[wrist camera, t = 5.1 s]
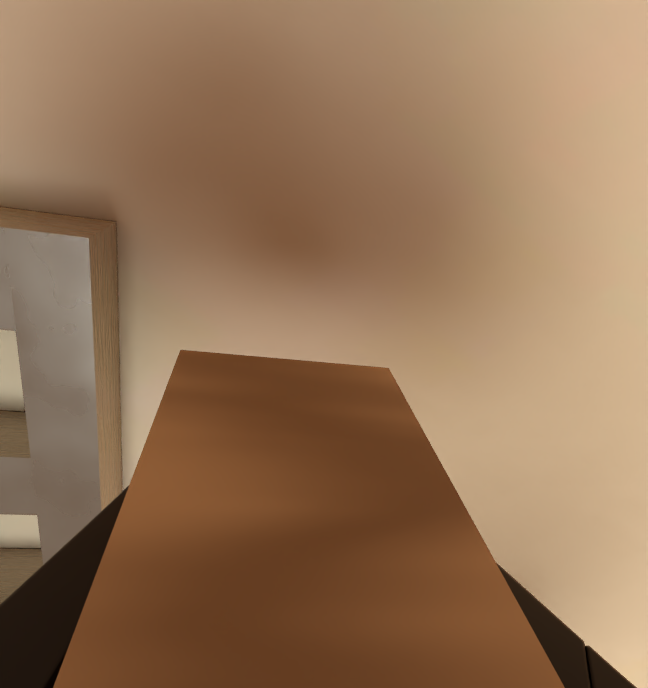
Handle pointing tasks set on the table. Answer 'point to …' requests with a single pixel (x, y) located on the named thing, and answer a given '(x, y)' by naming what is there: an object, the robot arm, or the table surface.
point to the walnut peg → (296, 546)
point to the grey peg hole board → (59, 379)
